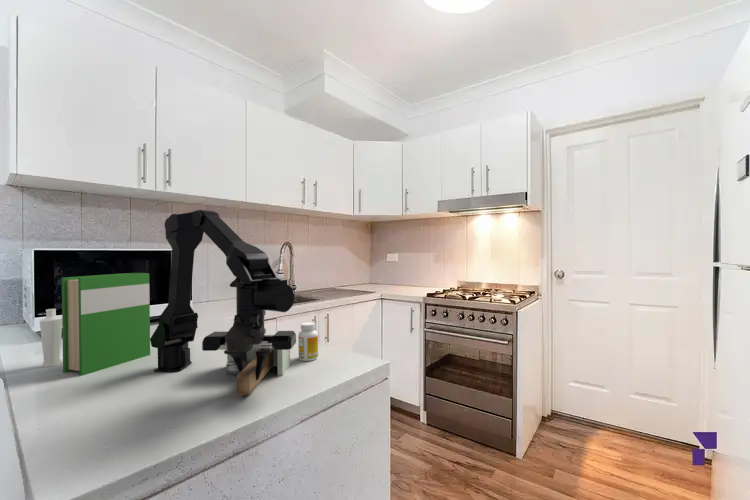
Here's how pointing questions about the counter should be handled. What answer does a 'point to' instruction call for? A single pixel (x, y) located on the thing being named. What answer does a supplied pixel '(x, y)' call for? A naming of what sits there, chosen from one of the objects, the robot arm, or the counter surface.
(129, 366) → the counter surface
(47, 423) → the counter surface
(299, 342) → the supplement bottle
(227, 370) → the steel puck
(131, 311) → the hardback book
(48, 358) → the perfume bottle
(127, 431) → the counter surface
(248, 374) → the walnut bar
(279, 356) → the sage shelf
